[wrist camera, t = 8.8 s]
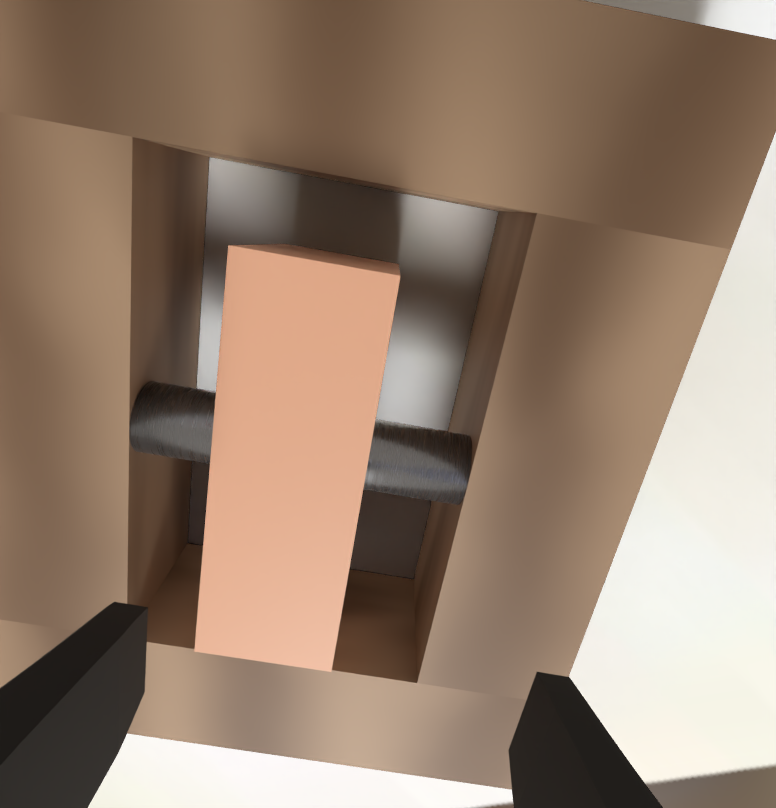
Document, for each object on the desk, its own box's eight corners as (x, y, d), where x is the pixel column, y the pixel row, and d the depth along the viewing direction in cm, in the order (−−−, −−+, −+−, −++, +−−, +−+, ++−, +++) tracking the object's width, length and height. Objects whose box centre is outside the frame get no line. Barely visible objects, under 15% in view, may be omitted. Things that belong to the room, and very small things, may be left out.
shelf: (685, 94, 16) (807, 46, 11) (499, 672, 23) (525, 791, 18) (54, -31, 15) (-105, -141, 10) (74, 606, 22) (-13, 713, 18)
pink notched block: (398, 263, 17) (400, 276, 11) (350, 545, 20) (331, 671, 14) (285, 243, 17) (227, 245, 11) (253, 530, 19) (194, 651, 14)
